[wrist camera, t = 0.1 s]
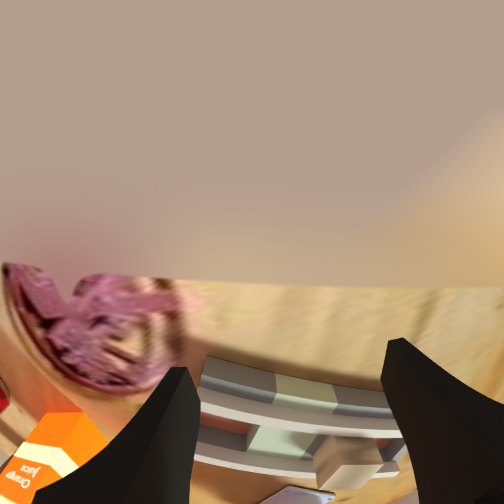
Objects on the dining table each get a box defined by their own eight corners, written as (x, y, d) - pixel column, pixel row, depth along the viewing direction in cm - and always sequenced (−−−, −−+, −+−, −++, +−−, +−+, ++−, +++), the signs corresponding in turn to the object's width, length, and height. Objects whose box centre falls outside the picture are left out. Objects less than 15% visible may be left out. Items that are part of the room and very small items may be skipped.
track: (428, 395, 22) (445, 419, 19) (379, 457, 25) (388, 482, 21) (207, 355, 21) (198, 387, 17) (184, 431, 24) (176, 462, 20)
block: (371, 432, 20) (384, 464, 16) (349, 458, 21) (358, 489, 17) (332, 429, 20) (341, 464, 16) (312, 456, 21) (318, 489, 17)
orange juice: (84, 411, 24) (3, 547, 4) (127, 462, 26) (79, 588, 6) (45, 412, 24) (-30, 518, 5) (85, 459, 26) (33, 563, 7)
